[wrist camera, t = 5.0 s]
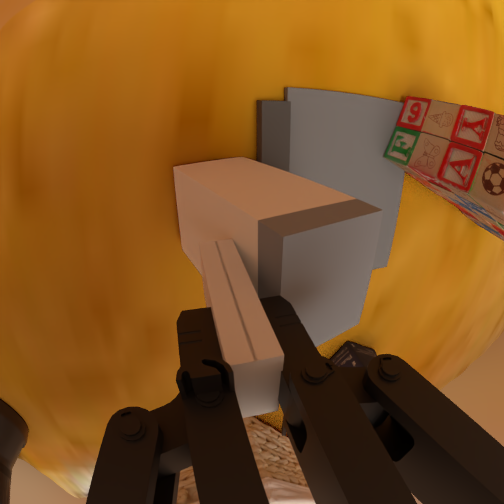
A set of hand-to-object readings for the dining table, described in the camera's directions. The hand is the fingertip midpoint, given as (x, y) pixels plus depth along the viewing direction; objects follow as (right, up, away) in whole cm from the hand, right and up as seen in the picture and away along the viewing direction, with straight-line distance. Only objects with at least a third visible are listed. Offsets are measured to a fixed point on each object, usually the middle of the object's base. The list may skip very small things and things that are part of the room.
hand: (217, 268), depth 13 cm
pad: (+8, +6, +10) cm, 15 cm away
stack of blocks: (+23, +9, +13) cm, 27 cm away
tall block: (-1, +4, +8) cm, 9 cm away
